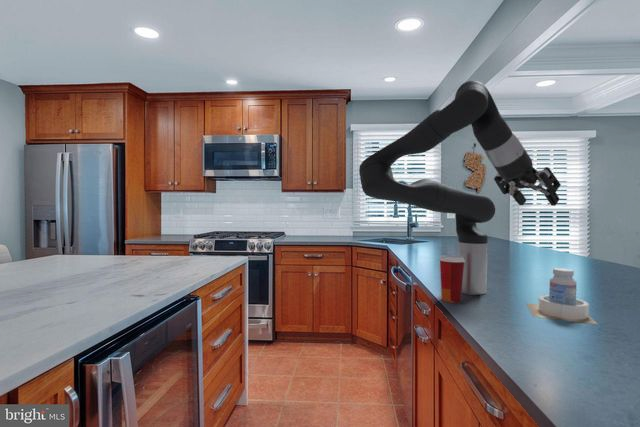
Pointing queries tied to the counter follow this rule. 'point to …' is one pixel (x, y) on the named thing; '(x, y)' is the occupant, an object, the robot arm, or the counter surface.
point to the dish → (564, 309)
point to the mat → (537, 313)
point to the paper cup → (451, 277)
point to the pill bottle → (562, 287)
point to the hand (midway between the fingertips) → (538, 203)
